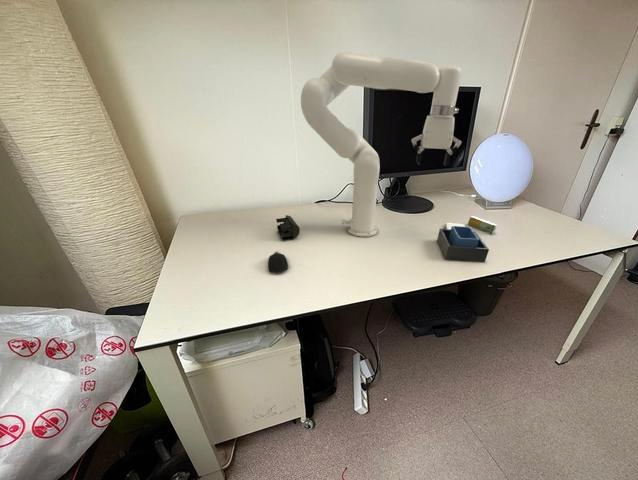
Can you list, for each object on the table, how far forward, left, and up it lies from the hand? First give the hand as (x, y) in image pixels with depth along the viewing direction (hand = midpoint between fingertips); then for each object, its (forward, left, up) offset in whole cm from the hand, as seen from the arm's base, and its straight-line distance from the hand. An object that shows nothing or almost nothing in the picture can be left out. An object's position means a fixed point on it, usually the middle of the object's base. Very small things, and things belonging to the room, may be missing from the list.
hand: (431, 165), depth 102 cm
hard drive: (+17, +5, -28) cm, 34 cm away
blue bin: (+14, -12, -28) cm, 33 cm away
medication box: (+29, +10, -28) cm, 42 cm away
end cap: (-54, -9, -28) cm, 62 cm away
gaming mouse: (-52, -31, -28) cm, 67 cm away
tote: (+14, -12, -28) cm, 34 cm away
